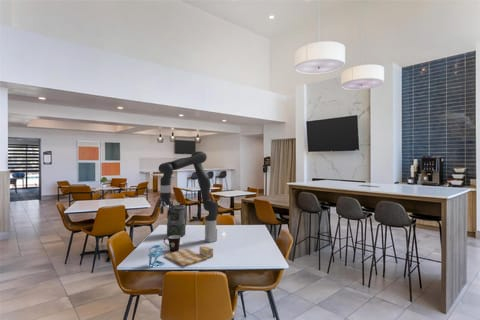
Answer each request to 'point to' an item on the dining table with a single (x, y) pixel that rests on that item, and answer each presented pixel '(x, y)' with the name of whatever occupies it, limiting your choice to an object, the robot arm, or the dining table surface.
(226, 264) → the dining table surface
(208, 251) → the sanding block
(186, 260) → the board
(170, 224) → the canister
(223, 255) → the dining table surface
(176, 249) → the coffee mug
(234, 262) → the dining table surface
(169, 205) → the robot arm
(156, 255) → the chair
